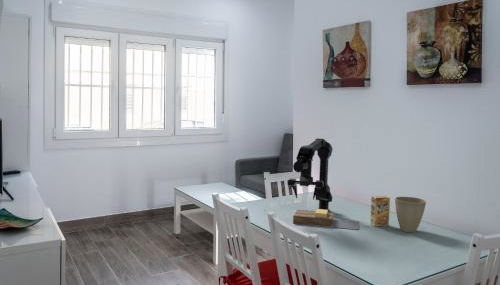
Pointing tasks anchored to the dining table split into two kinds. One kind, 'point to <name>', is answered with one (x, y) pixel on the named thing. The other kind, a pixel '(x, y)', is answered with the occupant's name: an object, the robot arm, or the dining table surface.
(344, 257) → the dining table surface
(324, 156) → the robot arm
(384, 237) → the dining table surface
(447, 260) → the dining table surface
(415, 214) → the plant pot
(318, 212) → the yellow rectangular block
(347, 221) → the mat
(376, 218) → the candy box
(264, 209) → the dining table surface
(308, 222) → the brown wooden flat block
